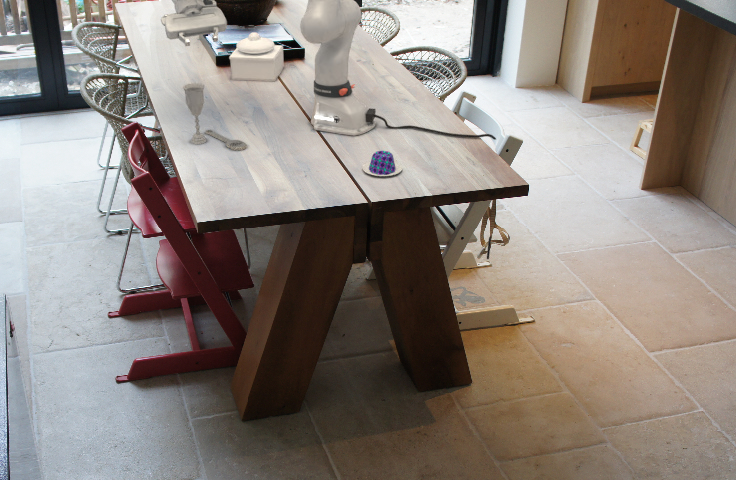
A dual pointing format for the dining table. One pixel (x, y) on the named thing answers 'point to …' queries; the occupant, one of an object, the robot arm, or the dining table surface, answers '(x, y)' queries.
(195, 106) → the chalice
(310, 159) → the dining table surface
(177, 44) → the dining table surface
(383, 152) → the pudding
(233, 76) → the white square lidded jar
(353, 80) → the dining table surface
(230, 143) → the spoon
